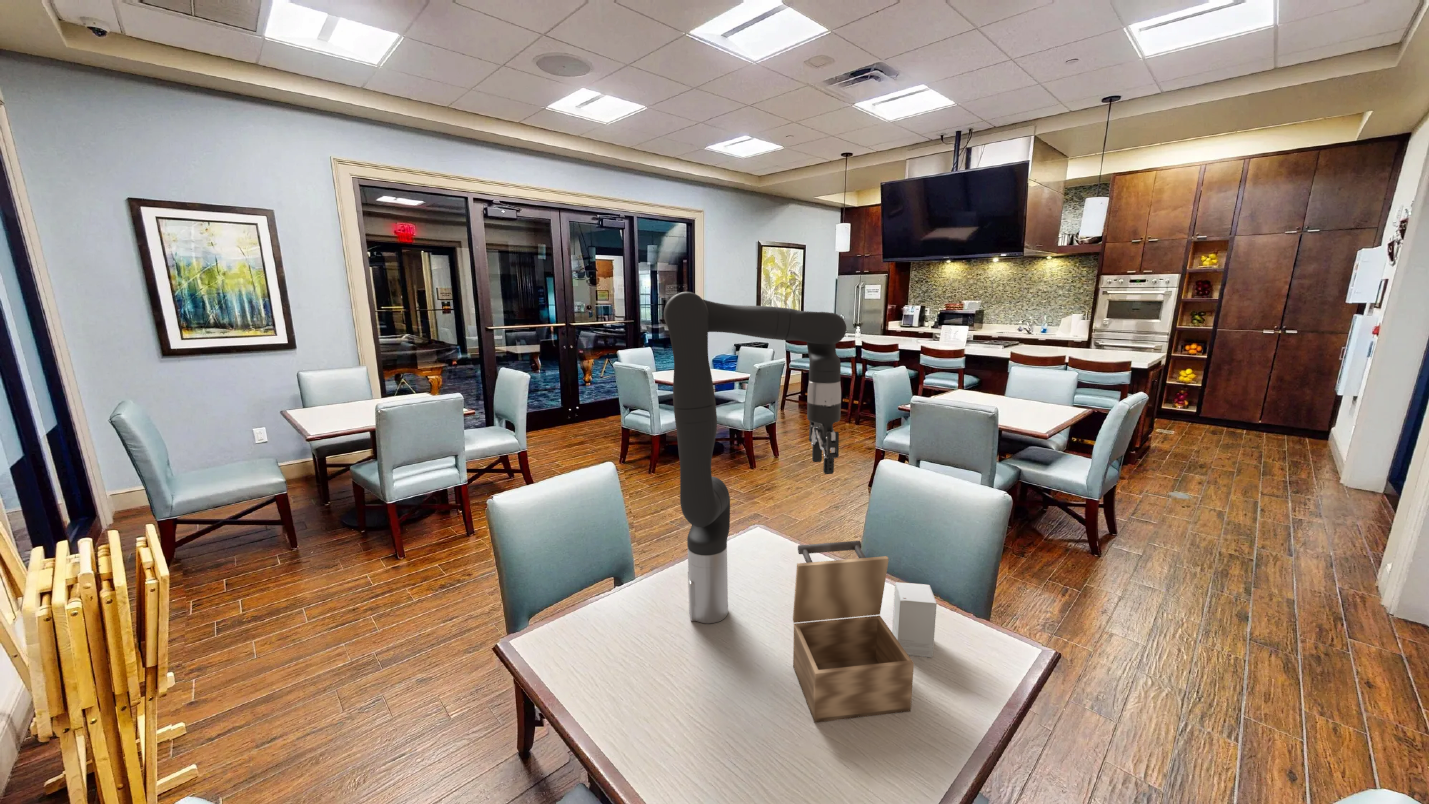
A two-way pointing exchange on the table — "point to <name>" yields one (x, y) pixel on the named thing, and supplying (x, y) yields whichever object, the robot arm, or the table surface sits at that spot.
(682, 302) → the robot arm
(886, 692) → the wooden box
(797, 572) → the wooden box lid
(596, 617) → the table surface
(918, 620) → the supplement box
